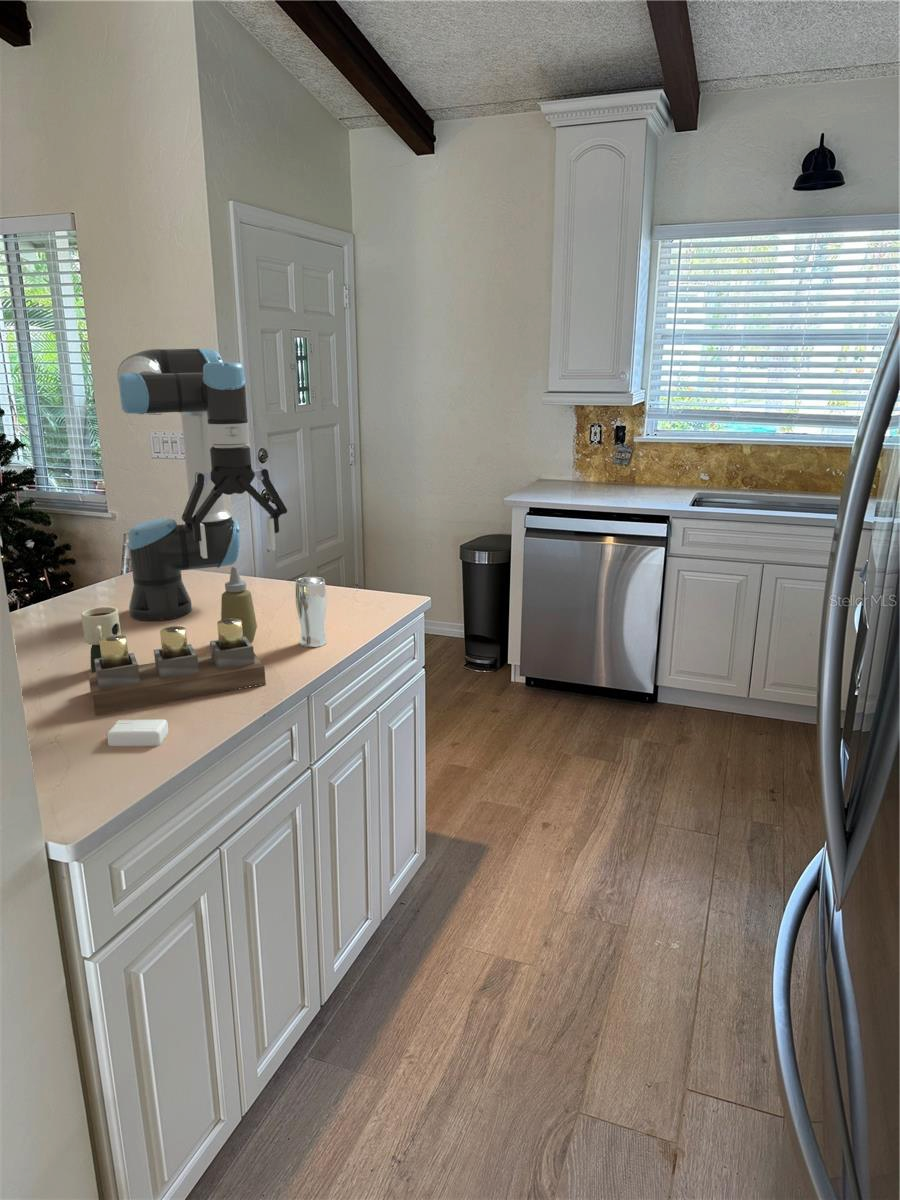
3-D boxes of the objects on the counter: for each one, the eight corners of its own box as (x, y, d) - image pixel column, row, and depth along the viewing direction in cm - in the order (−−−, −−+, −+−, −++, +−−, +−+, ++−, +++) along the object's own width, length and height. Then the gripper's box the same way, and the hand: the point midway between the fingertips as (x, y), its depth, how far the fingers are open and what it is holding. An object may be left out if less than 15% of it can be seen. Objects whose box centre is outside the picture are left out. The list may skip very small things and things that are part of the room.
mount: (90, 691, 163) (85, 656, 161) (251, 664, 177) (248, 631, 175) (95, 715, 153) (90, 677, 151) (265, 684, 167) (263, 649, 165)
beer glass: (334, 640, 191) (331, 578, 187) (317, 650, 185) (314, 586, 181) (309, 636, 194) (306, 575, 190) (292, 645, 188) (288, 582, 184)
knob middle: (161, 652, 164) (158, 627, 162) (185, 648, 166) (183, 624, 165) (164, 660, 160) (161, 635, 158) (190, 656, 162) (187, 631, 160)
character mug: (123, 677, 171) (115, 617, 167) (86, 681, 169) (77, 621, 165) (127, 659, 181) (120, 602, 177) (92, 662, 179) (84, 605, 175)
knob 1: (101, 661, 159) (98, 636, 158) (127, 657, 161) (124, 632, 160) (103, 669, 155) (100, 644, 154) (130, 665, 157) (127, 640, 156)
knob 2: (217, 643, 169) (214, 619, 167) (240, 639, 171) (238, 616, 169) (222, 651, 165) (219, 626, 163) (246, 647, 167) (244, 623, 165)
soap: (169, 733, 147) (168, 718, 146) (160, 747, 141) (158, 731, 141) (119, 734, 147) (117, 718, 146) (107, 748, 141) (105, 732, 140)
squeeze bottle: (249, 649, 186) (243, 572, 180) (216, 647, 187) (209, 571, 182) (263, 637, 193) (258, 563, 188) (231, 635, 195) (225, 561, 190)
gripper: (166, 451, 150) (177, 564, 156) (298, 443, 161) (304, 549, 167) (159, 447, 156) (170, 556, 162) (287, 440, 167) (293, 542, 173)
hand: (238, 553), depth 165 cm, fingers open, 13 cm apart
